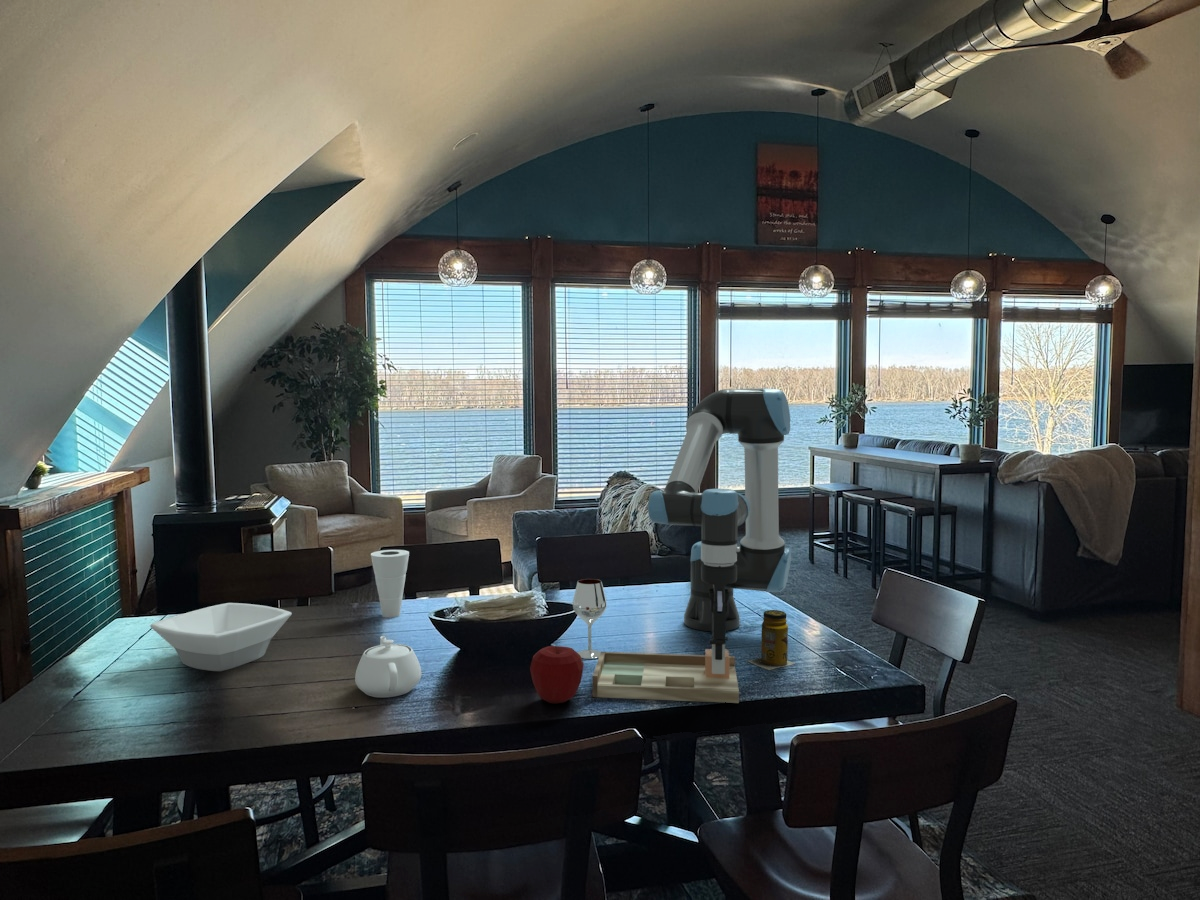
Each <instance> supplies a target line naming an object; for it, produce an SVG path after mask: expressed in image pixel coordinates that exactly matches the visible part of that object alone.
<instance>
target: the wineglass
mask: <svg viewBox="0 0 1200 900" xmlns="http://www.w3.org/2000/svg"><path fill="white" fill-rule="evenodd" d="M606 598H607V597H606V593H605V590H604V586H603V582H602V580H600V579H598V578H597V579H596V578H583V579H579V580H577V582H576V587H575V590H574V595H573V601H572V607H573V611H574V613H575V615H577V616H578V617H579V618H580V619H581V620H582V621H583V622H584V623H585V624H586V625H587V649H584V650H580V651H578V652H577V653H578V654H579V655H580V656H581V659H582V660H596V659H599V656H600V653H601V652H602V651H600V650H596V649H593V647H592V626H593V625H594V623H595V622H596V621H597V620H598V619H599V618H601V617H602V615H604V613H605V612H606V609H607V606H608V605H607V603H608V602H607V599H606Z"/></svg>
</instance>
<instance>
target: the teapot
mask: <svg viewBox="0 0 1200 900" xmlns="http://www.w3.org/2000/svg"><path fill="white" fill-rule="evenodd" d="M379 639H380V640H379V644H378V645H375V646H372V647H369V648H367V649H366V650H364V652H362V655H361V657H360V660H359V663H358V665H357V667H356V671H355V675H354V677H355V678H354V680H355V682H354V683H355V685H356V686H357V688H358V689H359V690H360V691H361V692H363V693H364V694H365V695H367V696H369V697H372V698H384V699H385V698H394V697H398V696H402V695H405V694H407V693H409V692H411V691H412V690H413V689H414V688H415V687H416V686H417V685H418V683H420V681H421V679H422V667H421V664H420V661H419V659H418V657H417V655H416V653H415V651H414V649H413V647H411V646H409V645H406V644H402V643H395V641H394V640H393V639H387V638H386V636H385V635H381V636H380V637H379Z"/></svg>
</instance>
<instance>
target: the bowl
mask: <svg viewBox="0 0 1200 900" xmlns="http://www.w3.org/2000/svg"><path fill="white" fill-rule="evenodd" d="M291 616H292V611H289V610H286V609H282V608H277V607H272V606H268V605H262V604H261V605H260V604H254V603H253V604H251V603H241V602H240V603H239V602H226V603H220V604H215V605H212V606H210V605H209V606H207V607H203V608H199V609H195V610H192V611H188V612H186V613H181V614H178V615H175V616H170V617H166V618H163V619H161V620H158V621H155V622H153V623H151V624H150V628H151V629H152V630H153V631H154V632H155V633H157V635H158V636H160V637H161V638H162V639H163V640H165V641H166V642H167V643H168V644H169V645H170V646H171V647H173V648H174V649H175V652H176V653H177V655H178V657H179V660H181V663H182V664H183V665H185V666H187V667H189V668H193V669H197V670H203V671H209V672H210V671H211V672H224V671H228V670H231V669H234V668H237V667H240V666H242V665H246V664H248V663H250V662H254V661H256V660H259V659H260V658H262V657H263V656H264V655H265V654H266V652H267V650H268V647H269V644H270V642H271V640H272V638H273V637H274V636H275V635H276V634H277V632H278V631H279V630H280V629H281V628H282V626H284V624H286V622H287V621H288V619H289V618H290V617H291Z"/></svg>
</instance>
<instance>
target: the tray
mask: <svg viewBox="0 0 1200 900" xmlns="http://www.w3.org/2000/svg"><path fill="white" fill-rule="evenodd" d="M600 652H601V653H600V656H599V658H597V659H598V660H597V662H596V665H595V668H594V671H593V673H592V698H605V699H627V700H628V699H635V700H654V701H656V700H657V701H658V700H659V701H676V702H677V701H679V702H682V701H683V702H703V703H705V702H706V703H711V702H712V703H725V702H726V703H731V704H739V703H740V690H739V689H740V688H739V683H738V682H739V681H738V677H737V672H736V670H737V669H736V656H734V655H729V657H730V665H729V678H717V677H706V673H705V654H681V653H679V654H678V653H677V654H676V653H652V652H651V653H649V652H627V651H625V652H624V651H623V652H619V651H615V652H614V651H600Z"/></svg>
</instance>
